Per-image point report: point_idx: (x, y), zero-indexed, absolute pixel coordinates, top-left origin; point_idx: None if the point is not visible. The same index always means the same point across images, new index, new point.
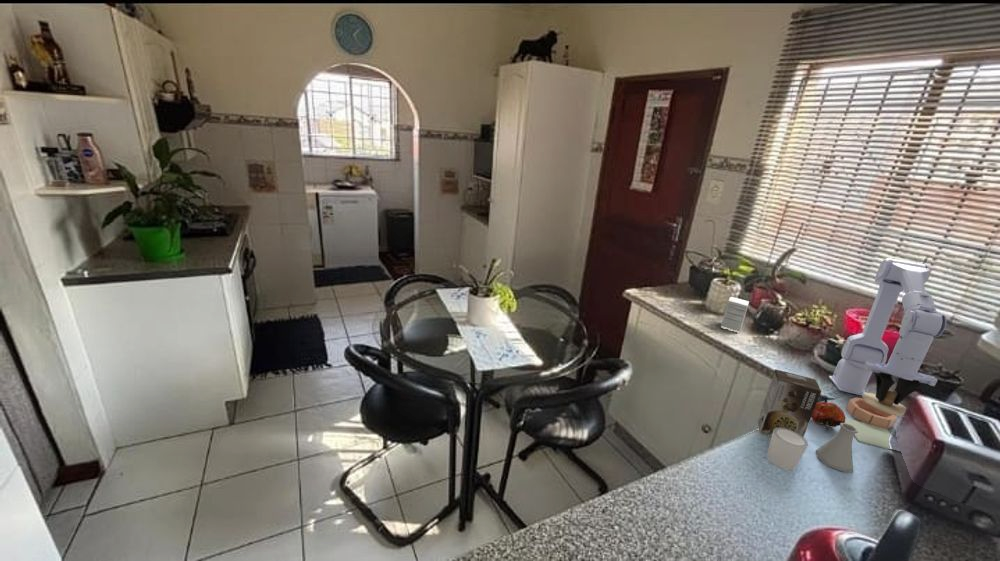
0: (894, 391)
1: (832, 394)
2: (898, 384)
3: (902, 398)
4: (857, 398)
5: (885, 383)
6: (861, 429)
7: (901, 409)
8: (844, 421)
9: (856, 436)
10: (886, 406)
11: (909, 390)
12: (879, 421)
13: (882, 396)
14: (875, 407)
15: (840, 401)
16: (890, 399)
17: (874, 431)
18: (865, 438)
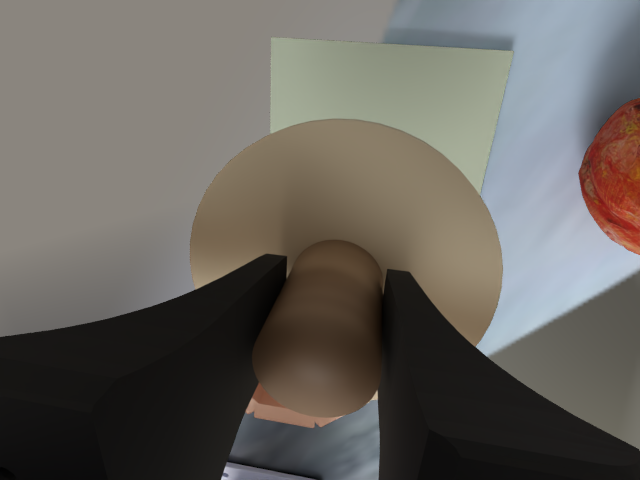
0: (276, 368)
1: (372, 449)
2: (215, 468)
3: (234, 276)
4: (318, 420)
5: (543, 408)
6: None
7: (243, 225)
8: (633, 107)
9: (498, 92)
10: (360, 225)
11: (149, 330)
12: None
13: (414, 288)
14: (471, 185)
15: (365, 408)
16: (335, 272)
17: None
18: (450, 91)
